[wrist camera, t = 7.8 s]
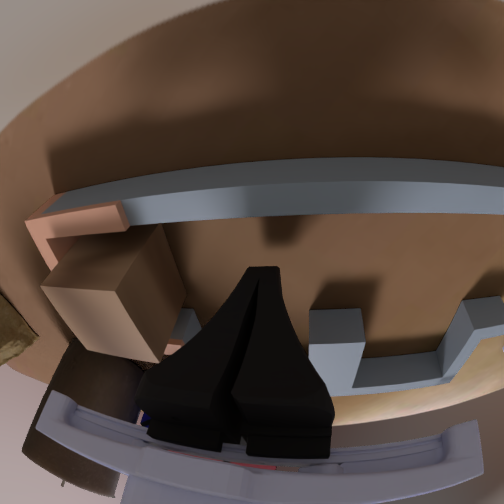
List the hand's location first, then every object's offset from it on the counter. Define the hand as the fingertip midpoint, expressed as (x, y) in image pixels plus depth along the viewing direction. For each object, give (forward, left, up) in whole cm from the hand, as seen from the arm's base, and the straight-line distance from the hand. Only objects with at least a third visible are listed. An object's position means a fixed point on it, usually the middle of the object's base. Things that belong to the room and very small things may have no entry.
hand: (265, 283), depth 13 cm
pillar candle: (+18, +14, -2) cm, 23 cm away
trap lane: (-2, +3, -2) cm, 4 cm away
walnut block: (+8, 0, -2) cm, 8 cm away
